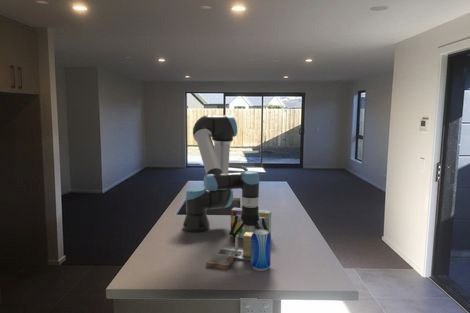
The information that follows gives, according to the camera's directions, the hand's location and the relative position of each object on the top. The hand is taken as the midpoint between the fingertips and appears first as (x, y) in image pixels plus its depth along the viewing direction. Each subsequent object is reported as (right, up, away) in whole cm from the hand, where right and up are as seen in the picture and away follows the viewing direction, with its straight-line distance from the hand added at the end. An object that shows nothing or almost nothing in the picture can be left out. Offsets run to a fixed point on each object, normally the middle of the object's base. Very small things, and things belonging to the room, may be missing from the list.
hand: (249, 251), depth 162 cm
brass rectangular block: (0, -3, 0) cm, 3 cm away
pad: (-13, -4, -6) cm, 15 cm away
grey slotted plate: (-4, -3, +1) cm, 5 cm away
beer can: (+4, -4, -10) cm, 12 cm away
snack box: (+2, 0, +25) cm, 25 cm away
